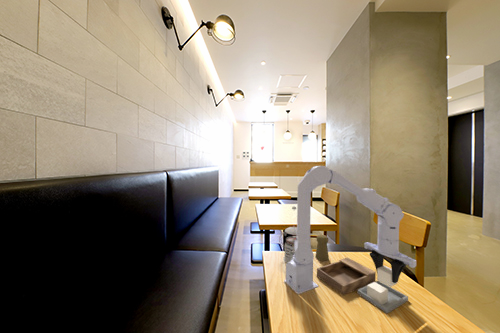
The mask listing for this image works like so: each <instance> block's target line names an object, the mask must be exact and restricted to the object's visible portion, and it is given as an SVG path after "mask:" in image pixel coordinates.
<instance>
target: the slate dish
mask: <svg viewBox="0 0 500 333" xmlns="http://www.w3.org/2000/svg"><path fill="white" fill-rule="evenodd" d="M375 282H376V283H377V284H379V285H381V286H383V287H385V288H386V289H388V302H386V303H385V304H383V305H382V304H380V303H379V302H377V301H376V300H374V299H373V298H371V297H369V296H368V295H367V285H366V286H363V287H361V288H359V289H357V295H358V296H360V297H361V298H363V299H364V300H366V301H367V302H369V303H370V304H372V305H373V306H375V307H377V308H378V309H379V310H381V311H382V312H384V313H385V314H389V313H390V312H392V311H394V310H395V309H397V308H398V307H401V306H402V305H403V304H405V303H407V302H408V301H409V296H407V295H406V294H404V293H402V292H401V291H398V290H397V289H395V288H393V287H392V286H391V287H390V286H388V285H386V284H384V283H382V282H380V281H379V280H375Z"/></svg>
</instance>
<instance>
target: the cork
mask: <svg viewBox="0 0 500 333" xmlns="http://www.w3.org/2000/svg"><path fill="white" fill-rule="evenodd" d="M315 240H316V241H317V244H316V250H315V255H314V257H315V259H316V260H317V261H319V262H325V263H326V262H328V261H329V260H330V258H329V249H328V243H329V238H328V236H327V235H324V234H317V236H316V239H315Z"/></svg>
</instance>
